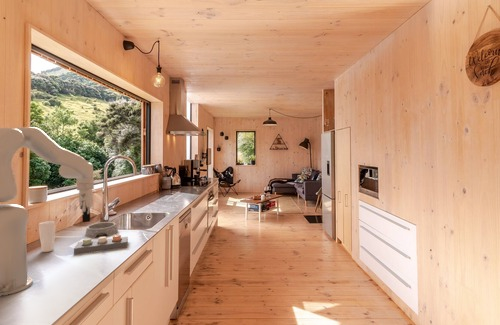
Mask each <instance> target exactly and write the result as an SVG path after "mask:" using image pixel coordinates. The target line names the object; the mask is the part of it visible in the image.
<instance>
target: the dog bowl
mask: <svg viewBox="0 0 500 325" xmlns="http://www.w3.org/2000/svg"><path fill="white" fill-rule="evenodd" d="M118 232H119V230H118V227H117V224H116V222H111V221H104V222H96V223H92V224H90V225H88V226H86V230H85V235H84V237H86V238H91V239H93V238H95V239H96V237H98V236H99V237H101V236H105V235H107V236H112V235H114V234H116V233H118Z"/></svg>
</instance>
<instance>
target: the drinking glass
mask: <svg viewBox="0 0 500 325" xmlns="http://www.w3.org/2000/svg"><path fill="white" fill-rule="evenodd" d="M38 234H39V240H40V245H41V246H40V247H41V249H40V250H41V252H42V253H49V252H52V251H54V250H55V240H56V239H55V237H56V222H55V220H47V221H42V222H39V223H38Z"/></svg>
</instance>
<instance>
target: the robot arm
mask: <svg viewBox="0 0 500 325" xmlns="http://www.w3.org/2000/svg"><path fill="white" fill-rule="evenodd" d="M22 148H23V149H24V148H26V149H28V150H29V151H31V152H33V154H35V155H36V156H38V157H39V158H40V159H42V160H43V161H45V162H46V163H51V164H55V165H60V167H59V168H58V173H59V176H61V177H62V178H64V179H76V180H75V181H76V190H77V191H78V201H79V202H78V203H79V205H78V206H79V210H82V211H81V213H82V215H81V216H82V220H81V221H82V223H89V222H90V221H91V209H92V207H94V194H93V190H94V188H95V187H94V186H95V184H94V165H93V163H91V162H88V160H86V159H85V158H84V157H82V156H81V155H79V154H77V153H75V152H72V151H71V150H69V149H67V148H66V149H65V148H63V147H61V146H60V145H59V144H58V143H57V142H55V141H54V140H53V139H52V138H51V137H50V136H49V135H47V133H45V132H44V131H43V130H42V129H40V128H39V127H34V126H23V127H22V126H19V127H0V203H1V204H0V295H4V296H7V295H8V294H9V295H12V294H15V293H18V292H21V291H24V290H26V289H28V288H30V286H32V284H34V279H33V278H32V277H30V276H29V277H28V275H29V274H28V253H27V252H28V251H27V226H28V223H29V212H28V210H27V209H26V207H24V206H22V205H19V204H13V203H10V204H9V203H7V202H10V201H13V200H14V199H15V198H16V197H17V195H18V187H17V183H16V179H15V175H14V170H13V165H12V162H13V157H14V155H15V154H16V153H17V151H18V150H20V149H22ZM2 203H3V204H2Z"/></svg>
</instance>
